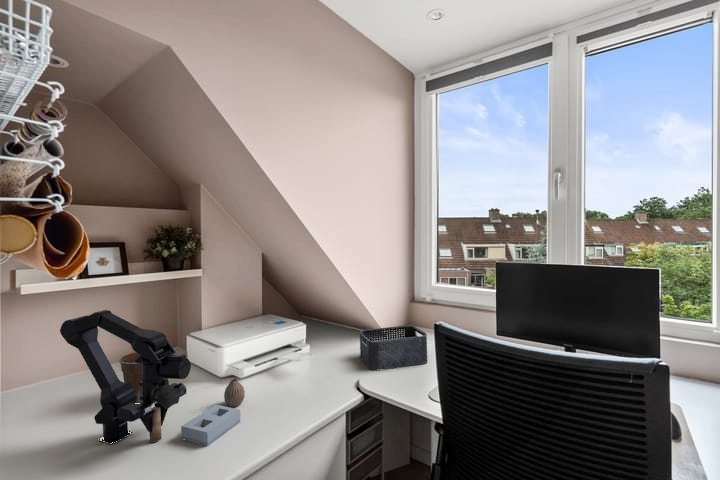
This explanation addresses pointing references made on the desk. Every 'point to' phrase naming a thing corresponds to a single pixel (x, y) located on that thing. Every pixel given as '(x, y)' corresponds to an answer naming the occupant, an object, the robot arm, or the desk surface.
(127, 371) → the plant pot
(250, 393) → the desk surface
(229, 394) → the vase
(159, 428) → the dowel
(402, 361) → the storage bin
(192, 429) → the socket block
